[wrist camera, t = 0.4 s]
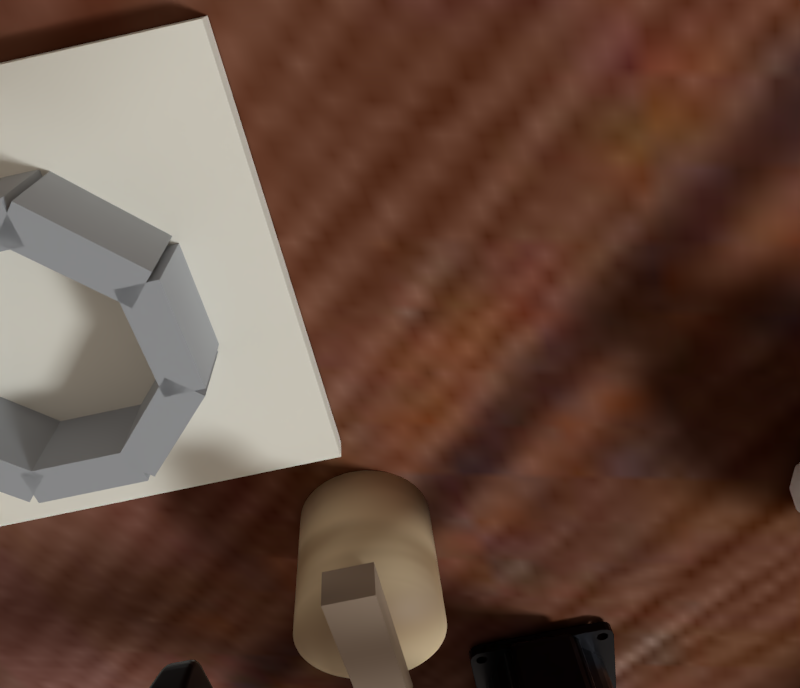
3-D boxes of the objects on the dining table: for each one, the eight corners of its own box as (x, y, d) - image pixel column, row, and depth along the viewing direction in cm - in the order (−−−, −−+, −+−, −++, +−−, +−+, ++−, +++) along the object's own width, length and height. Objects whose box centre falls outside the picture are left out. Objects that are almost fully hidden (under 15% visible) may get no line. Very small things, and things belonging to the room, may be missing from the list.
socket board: (341, 442, 24) (341, 506, 21) (-35, 519, 24) (-82, 591, 22) (207, 15, 17) (181, 29, 14) (-322, 136, 17) (-447, 172, 14)
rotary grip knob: (441, 561, 28) (466, 709, 22) (323, 585, 28) (319, 736, 22) (413, 444, 24) (434, 583, 19) (279, 471, 24) (262, 617, 19)
